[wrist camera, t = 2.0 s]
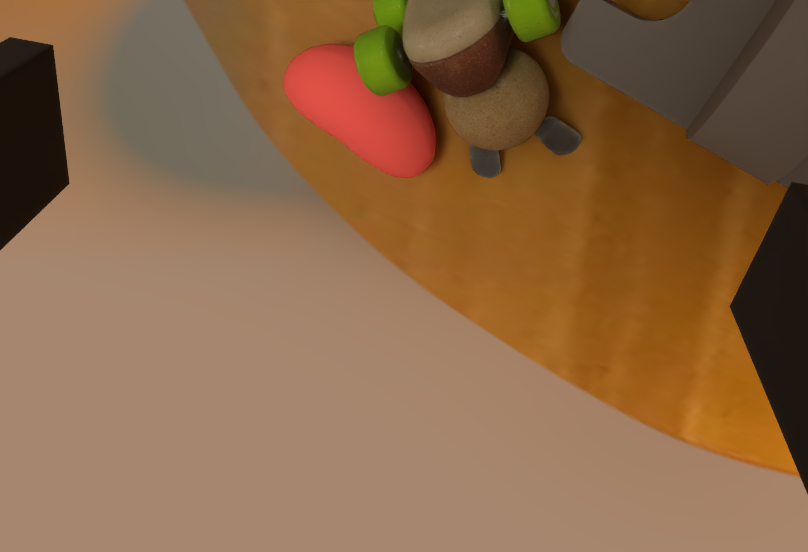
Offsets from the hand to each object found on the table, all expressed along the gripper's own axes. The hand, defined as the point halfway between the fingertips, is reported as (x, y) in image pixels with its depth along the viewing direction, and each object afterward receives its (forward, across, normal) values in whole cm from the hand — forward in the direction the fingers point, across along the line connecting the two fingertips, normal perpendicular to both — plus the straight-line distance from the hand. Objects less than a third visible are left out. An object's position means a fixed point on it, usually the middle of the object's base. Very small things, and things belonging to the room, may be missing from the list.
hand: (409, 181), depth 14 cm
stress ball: (+25, -6, -12) cm, 28 cm away
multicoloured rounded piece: (+24, -1, -2) cm, 24 cm away
